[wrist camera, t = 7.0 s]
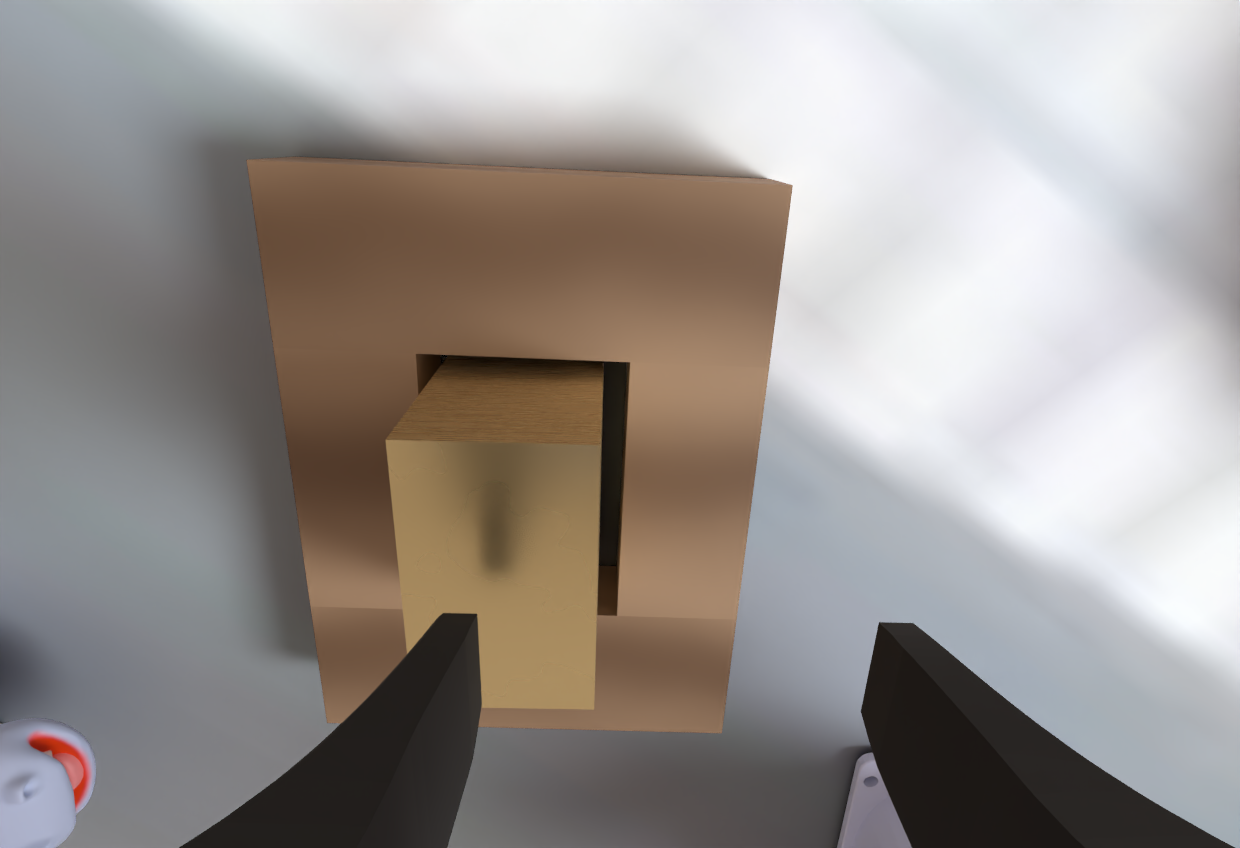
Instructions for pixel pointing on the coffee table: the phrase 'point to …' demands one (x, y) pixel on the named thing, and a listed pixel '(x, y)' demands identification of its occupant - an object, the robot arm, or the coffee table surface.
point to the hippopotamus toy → (42, 781)
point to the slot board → (543, 329)
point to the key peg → (505, 519)
